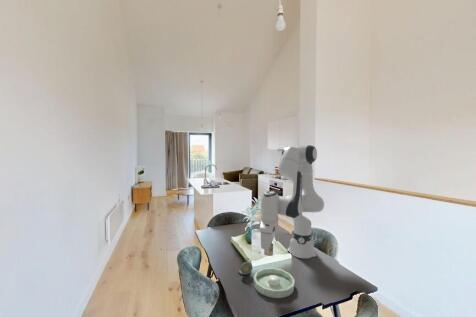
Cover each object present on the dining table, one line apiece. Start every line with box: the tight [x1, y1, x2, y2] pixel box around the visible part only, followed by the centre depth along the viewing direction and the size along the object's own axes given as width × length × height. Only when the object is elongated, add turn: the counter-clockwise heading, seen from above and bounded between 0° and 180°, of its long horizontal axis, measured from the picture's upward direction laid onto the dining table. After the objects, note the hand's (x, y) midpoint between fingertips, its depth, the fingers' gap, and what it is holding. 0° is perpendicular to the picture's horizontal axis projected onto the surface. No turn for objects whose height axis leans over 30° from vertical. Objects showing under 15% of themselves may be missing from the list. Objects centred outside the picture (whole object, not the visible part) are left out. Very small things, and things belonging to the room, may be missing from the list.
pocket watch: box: [238, 257, 253, 276], centre depth 126 cm, size 8×8×10 cm
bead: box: [263, 242, 274, 257], centre depth 116 cm, size 4×4×5 cm
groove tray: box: [252, 267, 296, 299], centre depth 116 cm, size 20×20×4 cm
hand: (268, 250), depth 116 cm, fingers closed on bead, 4 cm apart
